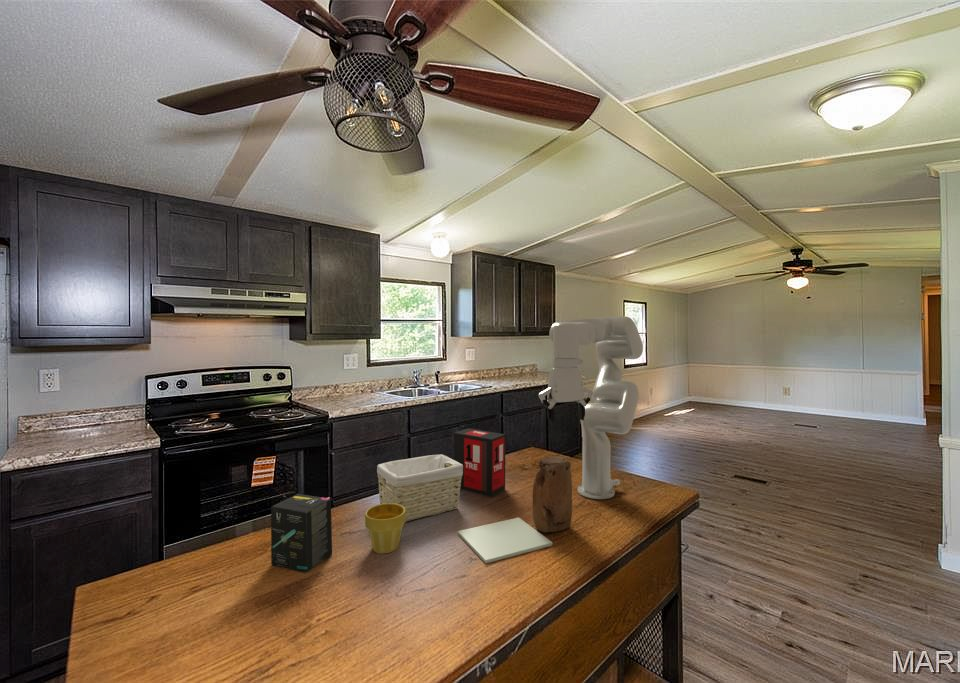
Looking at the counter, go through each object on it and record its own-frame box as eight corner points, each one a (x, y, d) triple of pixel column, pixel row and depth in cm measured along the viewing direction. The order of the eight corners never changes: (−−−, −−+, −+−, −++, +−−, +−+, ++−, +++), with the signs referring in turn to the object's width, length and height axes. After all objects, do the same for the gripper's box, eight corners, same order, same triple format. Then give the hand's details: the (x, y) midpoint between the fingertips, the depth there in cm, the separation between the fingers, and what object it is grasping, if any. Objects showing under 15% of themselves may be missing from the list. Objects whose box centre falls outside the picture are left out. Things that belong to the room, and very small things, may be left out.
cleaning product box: (505, 489, 154) (505, 434, 154) (491, 497, 147) (491, 439, 146) (468, 480, 163) (468, 428, 163) (453, 487, 156) (453, 432, 156)
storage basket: (440, 493, 150) (441, 451, 150) (465, 510, 137) (465, 464, 136) (374, 509, 137) (374, 463, 137) (394, 528, 123) (394, 478, 123)
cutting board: (518, 520, 129) (518, 517, 129) (552, 545, 114) (552, 542, 114) (457, 533, 120) (457, 531, 120) (485, 563, 105) (485, 560, 105)
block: (557, 518, 130) (557, 453, 130) (574, 528, 124) (575, 459, 123) (528, 527, 125) (529, 458, 124) (545, 537, 118) (546, 465, 118)
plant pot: (380, 562, 105) (380, 523, 105) (357, 548, 112) (357, 511, 112) (413, 547, 113) (413, 510, 113) (390, 534, 120) (390, 499, 120)
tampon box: (333, 554, 109) (332, 497, 108) (307, 574, 100) (306, 512, 100) (298, 547, 112) (297, 492, 112) (270, 565, 104) (269, 505, 103)
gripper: (586, 361, 135) (586, 415, 135) (534, 363, 131) (534, 419, 132) (598, 364, 127) (598, 421, 128) (543, 366, 123) (543, 424, 124)
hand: (566, 420), depth 130 cm, fingers open, 9 cm apart
